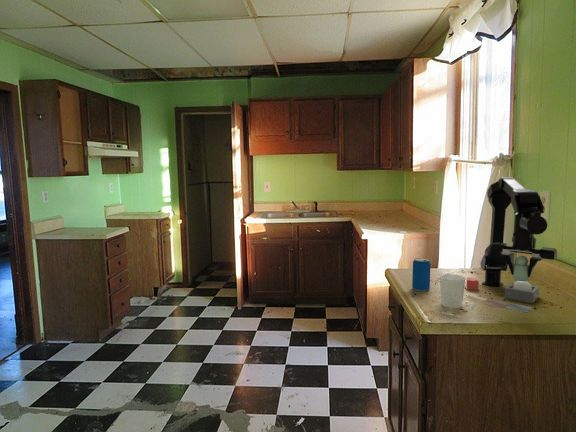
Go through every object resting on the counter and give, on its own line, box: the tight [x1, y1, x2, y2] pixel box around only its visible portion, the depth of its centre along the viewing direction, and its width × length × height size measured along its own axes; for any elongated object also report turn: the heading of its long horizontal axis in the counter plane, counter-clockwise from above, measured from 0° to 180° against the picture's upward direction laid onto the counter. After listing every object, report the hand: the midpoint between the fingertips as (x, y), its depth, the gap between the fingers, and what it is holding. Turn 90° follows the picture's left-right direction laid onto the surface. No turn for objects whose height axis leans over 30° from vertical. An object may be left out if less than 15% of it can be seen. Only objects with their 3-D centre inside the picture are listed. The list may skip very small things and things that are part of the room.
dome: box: [513, 280, 532, 292], centre depth 149 cm, size 6×6×6 cm
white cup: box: [439, 273, 466, 309], centre depth 142 cm, size 8×8×10 cm
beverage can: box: [411, 257, 432, 292], centre depth 160 cm, size 6×6×12 cm
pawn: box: [512, 255, 529, 282], centre depth 137 cm, size 4×4×8 cm
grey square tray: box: [504, 282, 540, 304], centre depth 149 cm, size 9×9×4 cm
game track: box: [463, 294, 533, 313], centre depth 143 cm, size 6×20×1 cm, turn 49°
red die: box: [466, 277, 480, 292], centre depth 160 cm, size 4×4×4 cm
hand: (520, 276), depth 137 cm, fingers closed on pawn, 4 cm apart
